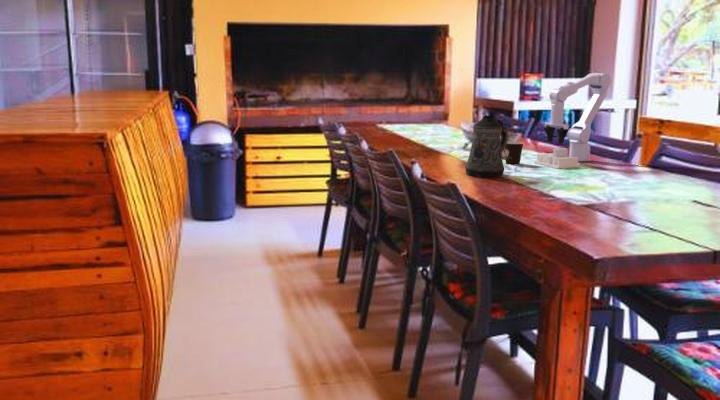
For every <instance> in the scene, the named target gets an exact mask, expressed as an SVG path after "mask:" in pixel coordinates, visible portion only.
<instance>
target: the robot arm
mask: <svg viewBox="0 0 720 400" xmlns="http://www.w3.org/2000/svg"><path fill="white" fill-rule="evenodd" d="M611 83H612V79H611V76H610V74H609V73H608V72H604V73H600V72H599V73H598V72H591V73H588V74H586V76H584V77H582V78H581V79H579V80H577V81H576V82H573V81H568V82H567V84H564V85H560V86H559V88H553V89H552V90H551V91H550V94H549V95H548V97H549V99H550V105H551V109H550V111H551V112H550V121H545V122H544V127H543V130H544V132H545V135H546V138H547V143H552V142H553V140H554V133H555V131H556V132H557V138H558V139H557V143H558V144H559V145H563V144H564V140H565V138H566V137H567V139H568V142H569V150H568V151H569V153H568V156H573V157H578V163H579V162H587V161H588V162H590V161H591V159H590V157H591V145H590V143H589V142H588V141H589V140H590V137H591V132H592V128H591V127H590V126H591V124H592V123H593V121H594V119H595V117H596V115H597V113H598V111H599V110H600V107H601V106H602V104H603V102H604V101H605V99H606V96H607V94H608V89H609V87H610V86H611ZM586 86H589V88H590V90H591V91H592V93H593V95H592V97H591V98H590V100H589V102H588V104H587V106H586V107H585V110H584V111H583V113H582V115H581V117H580V118H579V120H578V121H577V122H576V123H574V124H573V125H572V126H571V128H569V127H570V126H569V124H565V123H564V112H565V111H564V110H565V102H566V101H567V100H568V97H571V96H573V95H575V94H576V93H578V91H579V90H580V89H581V88H584V87H586Z"/></svg>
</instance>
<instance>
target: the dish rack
mask: <svg viewBox="0 0 720 400" xmlns="http://www.w3.org/2000/svg"><path fill="white" fill-rule="evenodd" d="M536 157H537V158H536V159H537V160H536V161H534V164H536V165H540V166H543V165H544V167H547V166H549V167H548V168H552V167H553V169H556V168H557V170H558V169H560V168H561V169H572V168H573V167H574V168H580V167H581V166H580V164H578V163H579V162H578V157H573V156H569V155H567V156H566V157H553V152H552V153H537V156H536ZM574 168H573V169H574Z"/></svg>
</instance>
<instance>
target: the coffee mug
mask: <svg viewBox="0 0 720 400" xmlns="http://www.w3.org/2000/svg"><path fill="white" fill-rule="evenodd" d="M523 146H524V143H523V142H521V141H507V144H506V146H505V150H504V153H505V157H504V158H505V164H506V165H509V164H511V165H512V164H513V165H514V164H519V165H520V163H521V158H522V151H523ZM511 165H510V166H511ZM513 165H512V166H513ZM514 166H515V165H514Z"/></svg>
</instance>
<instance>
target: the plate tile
mask: <svg viewBox="0 0 720 400" xmlns="http://www.w3.org/2000/svg"><path fill="white" fill-rule="evenodd" d="M568 151H569V150H568V148H565V147H563V148H553V150H552V153H553V157H566V156H568Z"/></svg>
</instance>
